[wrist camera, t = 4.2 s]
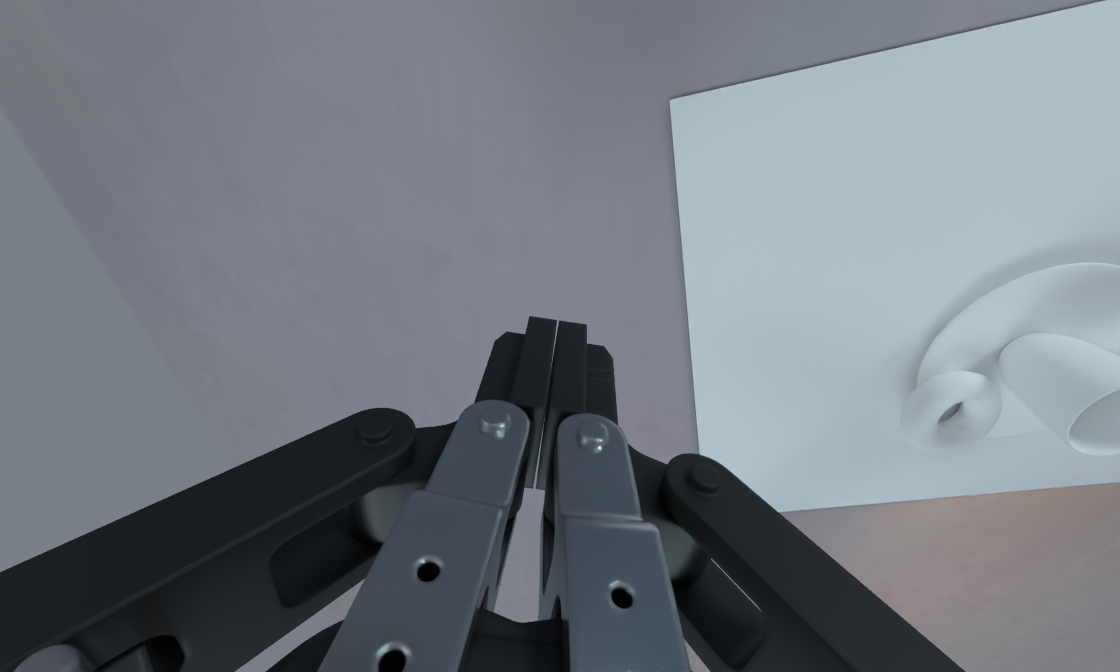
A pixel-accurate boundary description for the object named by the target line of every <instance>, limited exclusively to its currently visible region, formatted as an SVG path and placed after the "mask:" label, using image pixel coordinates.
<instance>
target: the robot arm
mask: <svg viewBox="0 0 1120 672" xmlns="http://www.w3.org/2000/svg"><path fill="white" fill-rule="evenodd" d="M556 324H557V320H552V319H546V318H539V317H532V316H530V317H529V321H528V325H527V329H526V334H519V333H513V332H506V333H504V334H503V335H502V336H501V337H499V338H498V339H497V340H496V341H495V342H494V345H493V348H492V351H491V356H490V357H489V360H488V363H487V366H486V369H485V372H484V375H483V378H482V381H481V384H480V387H479V390H478V393H477V396H476V399H475V402H474V404H472V405H470V406H469V407H467V408H466V409H465V410H464V411H463V412H462V414H461V415H460V417H459V419H458V420H457V421H455V422H453V423H450V424H446V425H442V426H435V427H425V428H415V424H414V422H413V420H412V419H411V418H410V417H409V416H408V415H406V414H405V413H403V412H401V411H398V410H395V409H390V408H373V409H368V410H364V411H361V412H358V413H355V414H353V415H351V416H349V417H347V418H344V419H342V420H340V421H338V422H335V423H333V424H331V425H329V426H326V427H324V428H322V429H320V430H317V431H315V432H313V433H311V434H309V435H306V436H304V437H302V438H300V439H297V440H295V441H293V442H291V443H288V444H286V445H284V446H282V447H279V448H277V449H275V450H273V451H270V452H268V453H266V454H264V455H262V456H259V457H257V458H255V459H253V460H250V461H248V462H246V463H244V464H241V465H239V466H237V467H235V468H232V469H230V470H228V471H226V472H224V473H221V474H219V475H217V476H215V477H212V478H210V479H208V480H206V481H203V482H201V483H199V484H197V485H194V486H192V487H190V488H188V489H185V490H183V491H181V492H179V493H177V494H175V495H172V496H170V497H168V498H166V499H163V500H161V501H159V502H156V503H154V504H152V505H150V506H147V507H145V508H143V509H141V510H139V511H136V512H134V513H132V514H130V515H128V516H125V517H123V518H121V519H118V520H116V521H114V522H112V523H110V524H107V525H105V526H103V527H101V528H98V529H96V530H94V531H92V532H89V533H87V534H85V535H83V536H80V537H78V538H76V539H74V540H72V541H69V542H67V543H65V544H63V545H60V546H58V547H56V548H54V549H51V550H49V551H47V552H45V553H42V554H40V555H38V556H36V557H33V558H31V559H29V560H27V561H24V562H22V563H20V564H18V565H15V566H13V567H11V568H9V569H7V570H4V571H2V572H0V672H235V671H236V670H237V669H239V668H240V667H241V666H243V665H244V664H246V663H247V662H249V661H250V660H251V659H253V658H254V657H255V656H257V655H258V654H260V653H261V652H262V651H264V650H265V649H267V648H268V647H270V646H271V645H272V644H274V643H275V642H276V641H278V640H279V639H281V638H282V637H283V636H285V635H286V634H288V633H289V632H290V631H292V630H293V629H295V628H296V627H297V626H299V625H300V624H302V623H303V622H304V621H306V620H307V619H309V618H310V617H311V616H313V615H314V614H316V613H317V612H318V611H320V610H321V609H323V608H324V607H325V606H327V605H328V604H330V603H331V602H332V601H334V600H335V599H337V598H338V597H339V596H341V595H342V594H344V593H345V592H346V591H348V590H349V589H351V588H352V587H353V586H355V585H356V584H358V583H359V582H360V581H362V580H363V579H365V580H364V582H363V584H362V586H361V588H360V590H359V592H358V594H357V596H356V598H355V600H354V602H353V604H352V606H351V607H350V609H349V611H348V613H347V615H346V617H345V619H344V620H342V621H340V622H338V623H336V624H334V625H332V626H330V627H328V628H326V629H324V630H322V631H321V632H319V633H317V634H316V635H314V636H313V637H311V638H310V639H308V640H306V641H305V642H303V643H302V644H301V645H300V646H298V647H297V648H295V649H294V650H293V651H292V652H290V653H289V654H288V655H286V656H285V657H284V658H282V659H281V660H280V661H279V662H277V663H276V664H275V665H274V666H272V667H271V668H270V669H269V670H267V671H266V672H693V671H691V667H690V663H689V659H688V654H687V650H686V646H685V641H684V639H685V640H686V641H687V643H688V644H689V645H690V646H691V648H692V649H693V650H694V651H695V653H696V654H697V655H698V656H699V658H700V659H701V660H702V661H703V663H704V664H705V665H706V666H707V668H708V669H709V670H710V671H711V672H965V671H964V670H963V669H962V668H961V667H959V666H958V665H957V664H956V663H955V662H953V661H952V660H951V659H950V658H949V657H948V656H946V655H945V654H944V653H943V652H942V651H941V650H939V649H938V648H937V647H936V646H935V645H934V644H932V643H931V642H930V641H929V640H928V639H926V638H925V637H924V636H923V635H922V634H921V633H919V632H918V631H917V630H916V629H915V628H914V627H912V626H911V625H910V624H909V623H908V622H907V621H905V620H904V619H903V618H902V617H901V616H899V615H898V614H897V613H896V612H895V611H894V610H892V609H891V608H890V607H889V606H888V605H887V604H885V603H884V602H883V601H882V600H881V599H880V598H878V597H877V596H876V595H875V594H874V593H872V592H871V591H870V590H869V589H868V588H867V587H865V586H864V585H863V584H862V583H861V582H860V581H858V580H857V579H856V578H855V577H854V576H853V575H851V574H850V573H849V572H848V571H847V570H845V569H844V568H843V567H842V566H841V565H840V564H838V563H837V562H836V561H835V560H834V559H833V558H831V557H830V556H829V555H828V554H827V553H826V552H824V551H823V550H822V549H821V548H820V547H819V546H817V545H816V544H815V543H814V542H813V541H811V540H810V539H809V538H808V537H807V536H806V535H804V534H803V533H802V532H801V531H800V530H799V529H797V528H796V527H795V526H794V525H793V524H792V523H790V522H789V521H788V520H787V519H786V518H784V517H783V516H782V515H781V514H780V513H779V512H777V511H776V510H775V509H774V508H773V507H772V506H770V505H769V504H768V503H767V502H766V501H765V500H763V499H762V498H761V497H760V496H759V495H757V494H756V493H755V492H754V491H753V490H752V489H750V488H749V487H748V486H747V485H746V484H745V483H743V482H742V481H741V480H740V479H739V478H738V477H736V476H735V475H734V474H733V473H732V472H730V471H729V470H728V469H727V468H726V467H724V466H723V465H722V464H720V463H719V462H717V461H715V460H713V459H711V458H709V457H706V456H703V455H699V454H681V455H678V456H676V457H674V458H673V459H671V461H670V462H669V463H668V465H667V464H665V463H662V462H660V461H657V460H655V459H652V458H650V457H648V456H645V455H643V454H641V453H640V452H638V451H636V450H635V449H634V448H632V447H631V446H630V445H629V444H628V443H627V439H626V436H625V434H624V432H623V431H622V429H621V428H620V427H619V426H618V418H617V406H616V393H615V385H614V383H615V380H614V367H613V358H612V357H611V355H610V354H609V353H608V351H607V350H606V348H605V347H604V346H599V345H593V344H587V325H586V324H579V323H573V322H566V321H559V325H558V331H557V337H556V343H555V349H554V355H553V348H554V340H555V332H556ZM552 356H553V362H552ZM551 364H552V368H551ZM550 372H551V374H550ZM549 380H550V381H549ZM544 417H545V419H544ZM543 423H544V427H543ZM542 429H543V435H542ZM541 436H542V443H541V451H540V459H539V467H538V475H537V483H536V489H542V490H545V499H544V507H543V512H542V518H541V532H540V587H539V615H538V621H534V622H527V623H520V622H515V621H512V620H510V619H507V618H505V617H503V616H500V615H498V614H496V613H494V608H495V603H496V599H497V595H498V591H499V587H500V583H501V579H502V575H503V571H504V567H505V563H506V559H507V555H508V551H509V547H510V543H511V539H512V535H513V531H514V527H515V523H516V517H517V512H518V511H519V509H520V507H521V504H522V499H523V492H524V487H526V488H533V484H534V478H535V472H536V466H537V460H538V454H539V448H540V442H541ZM711 558H712V559H713V560H714V561H715V562H716V563H717V564H718V565H719V566H720V567H721V568H722V569H723V570H724V571H725V573H726V574H727V575H728V576H729V577H730V578H731V579H732V580H733V581H734V582H735V583H736V584H737V585H738V586H739V587H740V588H741V589H742V590H743V591H744V592H745V593H746V594H747V595H748V596H749V597H750V598H751V600H752V601H753V602H754V603H755V604H756V605H757V606H758V607H759V608H760V610H761V611H762V612H761V611H760V610H759V609H758V608H757V607H756V606H755V605H754V604H753V603H752V602H751V601H750V600H749V599H748V598H747V596H746V595H745V594H744V593H743V592H742V591H741V590H740V589H739V588H738V587H737V586H736V585H735V584H734V583H733V582H732V581H731V580H730V579H729V578H728V577H727V576H726V575H725V574H724V572H723V571H722V570H721V569H720V568H719V567H718V566H717V565H716V564H715V563H714V562H713V561H712V560H711Z"/></svg>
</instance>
